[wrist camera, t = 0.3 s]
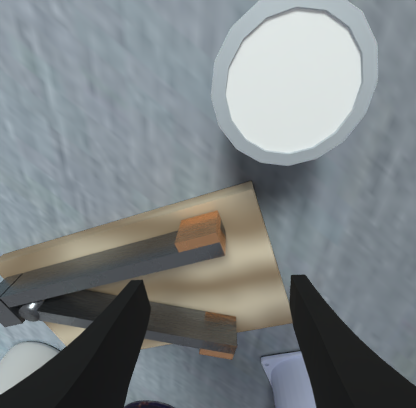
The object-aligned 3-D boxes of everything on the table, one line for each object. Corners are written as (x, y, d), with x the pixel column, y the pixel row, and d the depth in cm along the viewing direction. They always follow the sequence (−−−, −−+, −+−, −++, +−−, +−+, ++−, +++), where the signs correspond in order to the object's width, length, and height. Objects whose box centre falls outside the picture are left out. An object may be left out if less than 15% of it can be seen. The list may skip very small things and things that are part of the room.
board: (291, 309, 27) (294, 322, 26) (85, 347, 32) (79, 359, 31) (251, 180, 21) (253, 188, 19) (3, 254, 26) (-9, 264, 25)
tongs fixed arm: (233, 250, 22) (234, 276, 19) (27, 300, 26) (4, 327, 24) (217, 210, 20) (215, 232, 17) (0, 271, 25) (-28, 296, 22)
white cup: (203, 114, 19) (191, 141, 12) (237, -3, 15) (244, -46, 9) (294, 145, 19) (326, 184, 13) (345, 37, 16) (420, 22, 10)
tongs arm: (231, 329, 26) (232, 359, 24) (42, 296, 26) (21, 323, 23) (236, 314, 25) (237, 344, 23) (39, 279, 25) (17, 305, 22)
